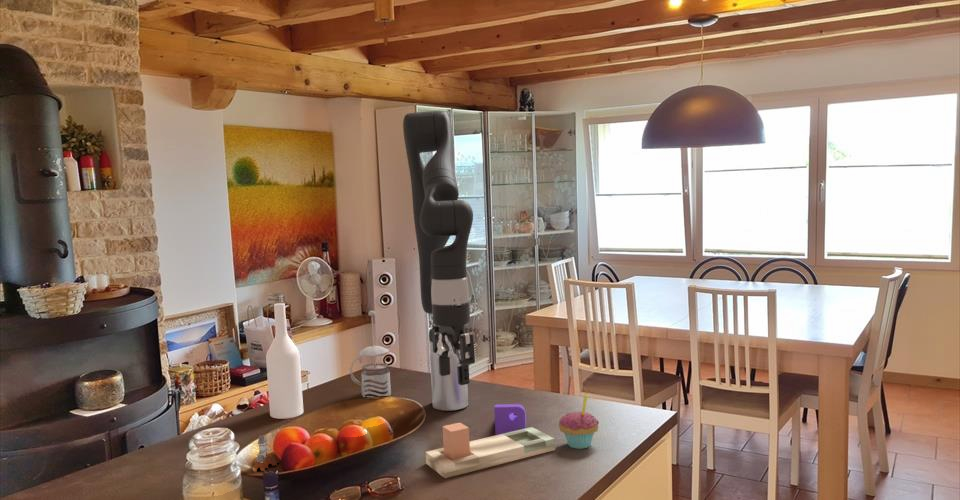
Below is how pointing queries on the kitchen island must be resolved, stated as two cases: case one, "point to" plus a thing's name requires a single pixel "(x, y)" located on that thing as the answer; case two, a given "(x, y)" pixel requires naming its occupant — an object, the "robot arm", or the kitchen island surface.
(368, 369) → the french press
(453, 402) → the robot arm
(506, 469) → the kitchen island surface
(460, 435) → the salmon orange rectangular block
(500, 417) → the bracket
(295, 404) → the bottle
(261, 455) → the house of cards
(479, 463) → the rail
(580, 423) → the cupcake
